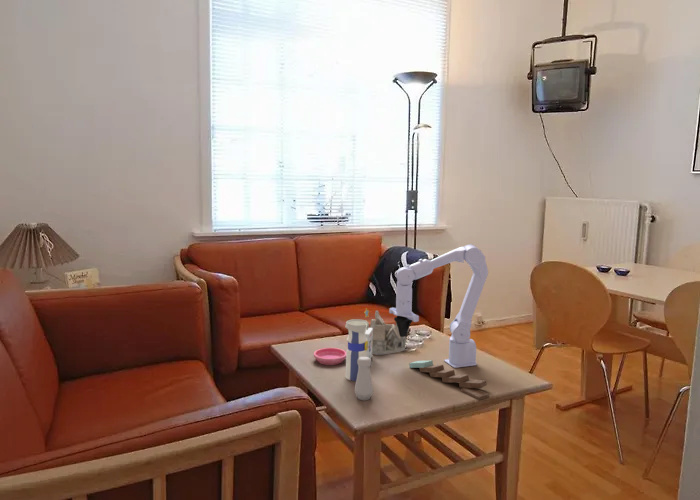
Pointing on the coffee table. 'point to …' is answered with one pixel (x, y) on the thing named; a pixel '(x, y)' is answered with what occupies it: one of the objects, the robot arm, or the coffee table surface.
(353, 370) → the water bottle
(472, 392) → the domino
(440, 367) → the domino
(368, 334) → the ink box
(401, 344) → the ceramic cottage
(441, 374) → the domino
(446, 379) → the domino
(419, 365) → the domino
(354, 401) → the coffee table surface
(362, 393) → the salt shaker
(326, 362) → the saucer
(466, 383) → the domino
